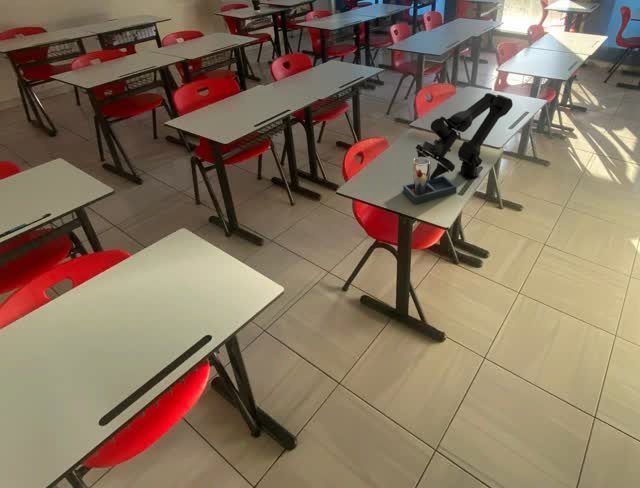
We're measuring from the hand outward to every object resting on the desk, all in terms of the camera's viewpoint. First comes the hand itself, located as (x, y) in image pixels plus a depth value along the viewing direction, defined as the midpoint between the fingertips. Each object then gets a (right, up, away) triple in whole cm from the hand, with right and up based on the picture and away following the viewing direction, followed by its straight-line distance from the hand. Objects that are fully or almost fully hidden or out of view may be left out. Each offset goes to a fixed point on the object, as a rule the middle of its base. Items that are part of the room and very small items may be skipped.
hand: (422, 174), depth 166 cm
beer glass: (-1, -8, +4) cm, 9 cm away
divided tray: (+3, -7, +6) cm, 10 cm away
